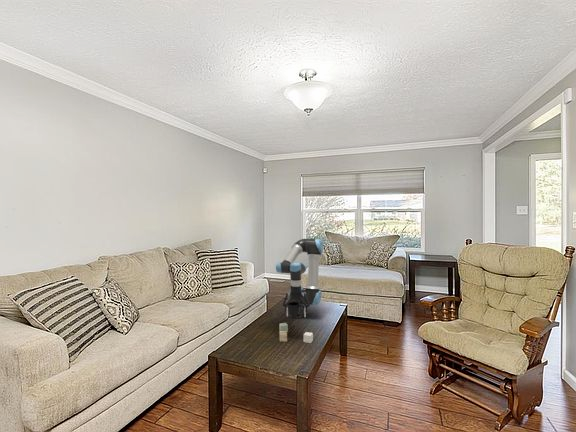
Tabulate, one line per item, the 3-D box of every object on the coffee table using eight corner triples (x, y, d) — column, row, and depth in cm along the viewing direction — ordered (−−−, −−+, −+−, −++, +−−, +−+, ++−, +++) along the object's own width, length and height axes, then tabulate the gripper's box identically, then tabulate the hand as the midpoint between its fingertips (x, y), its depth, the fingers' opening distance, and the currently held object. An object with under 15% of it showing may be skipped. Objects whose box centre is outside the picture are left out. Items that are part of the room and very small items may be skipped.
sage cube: (279, 330, 220) (279, 323, 219) (285, 329, 221) (285, 322, 221) (281, 332, 215) (281, 326, 215) (287, 332, 216) (287, 325, 216)
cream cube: (305, 339, 204) (305, 331, 204) (312, 340, 202) (312, 332, 202) (303, 342, 199) (303, 334, 199) (310, 343, 197) (310, 335, 197)
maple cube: (279, 338, 205) (279, 331, 205) (286, 338, 205) (286, 331, 205) (279, 341, 200) (279, 334, 200) (287, 341, 200) (287, 334, 200)
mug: (301, 320, 204) (301, 306, 203) (286, 317, 209) (285, 304, 209) (306, 316, 211) (306, 303, 211) (291, 314, 216) (291, 301, 216)
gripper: (278, 286, 207) (278, 317, 208) (312, 287, 204) (313, 318, 205) (279, 283, 215) (280, 313, 215) (313, 284, 211) (313, 314, 212)
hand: (296, 316), depth 210 cm, fingers closed on mug, 12 cm apart
